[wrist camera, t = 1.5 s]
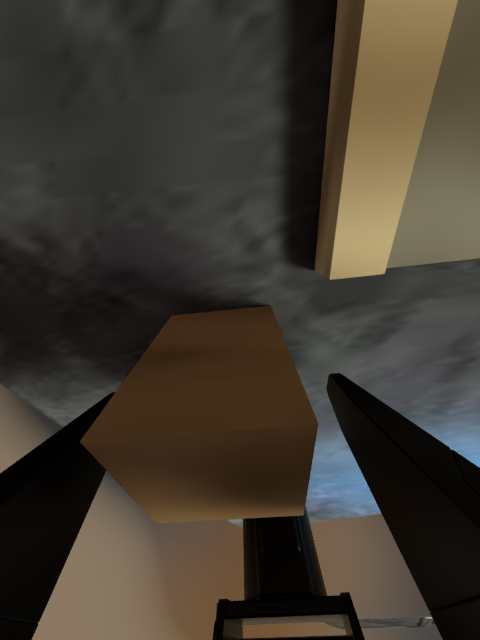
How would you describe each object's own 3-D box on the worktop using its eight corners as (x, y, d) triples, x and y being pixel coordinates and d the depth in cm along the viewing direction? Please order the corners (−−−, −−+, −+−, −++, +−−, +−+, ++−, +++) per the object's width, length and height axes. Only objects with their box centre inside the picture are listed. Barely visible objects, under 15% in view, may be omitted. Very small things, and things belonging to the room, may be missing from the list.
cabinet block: (272, 386, 12) (302, 522, 6) (196, 392, 12) (162, 529, 6) (270, 305, 9) (318, 424, 4) (171, 315, 9) (79, 441, 4)
